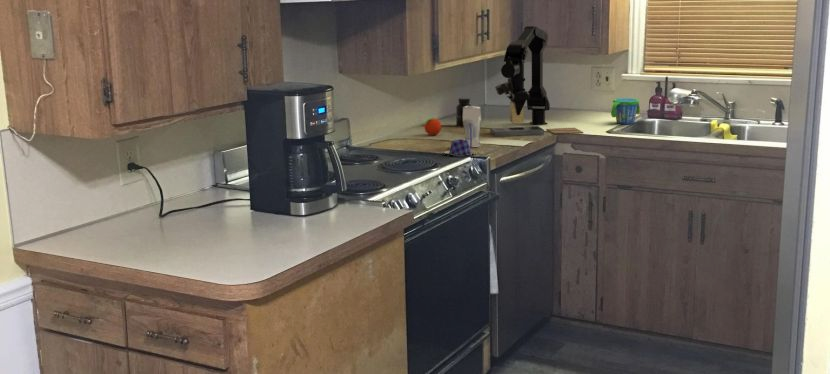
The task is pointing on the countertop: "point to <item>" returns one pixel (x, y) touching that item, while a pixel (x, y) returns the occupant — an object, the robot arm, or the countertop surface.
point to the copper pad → (564, 131)
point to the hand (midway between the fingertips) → (516, 114)
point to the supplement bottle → (461, 110)
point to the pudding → (459, 147)
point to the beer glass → (472, 124)
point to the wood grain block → (516, 114)
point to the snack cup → (625, 110)
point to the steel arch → (517, 131)
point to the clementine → (432, 126)
